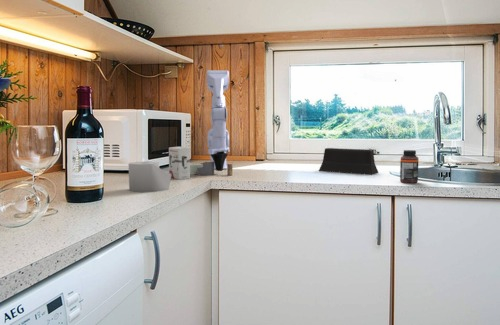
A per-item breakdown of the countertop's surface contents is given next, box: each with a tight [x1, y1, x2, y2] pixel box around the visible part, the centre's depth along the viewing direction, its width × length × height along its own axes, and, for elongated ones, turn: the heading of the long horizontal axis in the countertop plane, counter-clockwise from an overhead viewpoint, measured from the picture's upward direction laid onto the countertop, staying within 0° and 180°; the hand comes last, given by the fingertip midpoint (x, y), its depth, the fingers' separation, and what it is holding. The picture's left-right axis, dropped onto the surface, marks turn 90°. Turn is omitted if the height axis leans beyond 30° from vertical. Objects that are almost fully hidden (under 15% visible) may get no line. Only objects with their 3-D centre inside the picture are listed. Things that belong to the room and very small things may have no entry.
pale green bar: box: [190, 163, 203, 175], centre depth 175 cm, size 10×2×4 cm, turn 127°
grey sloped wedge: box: [128, 161, 172, 193], centre depth 136 cm, size 9×13×9 cm
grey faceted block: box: [196, 161, 215, 176], centre depth 174 cm, size 4×6×5 cm, turn 78°
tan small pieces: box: [200, 162, 233, 177], centre depth 176 cm, size 18×1×4 cm, turn 46°
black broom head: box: [318, 147, 379, 176], centre depth 181 cm, size 24×9×10 cm, turn 55°
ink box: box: [168, 146, 191, 180], centre depth 163 cm, size 9×5×12 cm, turn 37°
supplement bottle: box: [399, 149, 419, 184], centre depth 150 cm, size 6×6×11 cm
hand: (219, 170), depth 174 cm, fingers closed
